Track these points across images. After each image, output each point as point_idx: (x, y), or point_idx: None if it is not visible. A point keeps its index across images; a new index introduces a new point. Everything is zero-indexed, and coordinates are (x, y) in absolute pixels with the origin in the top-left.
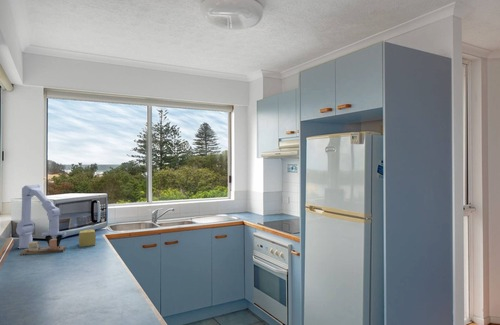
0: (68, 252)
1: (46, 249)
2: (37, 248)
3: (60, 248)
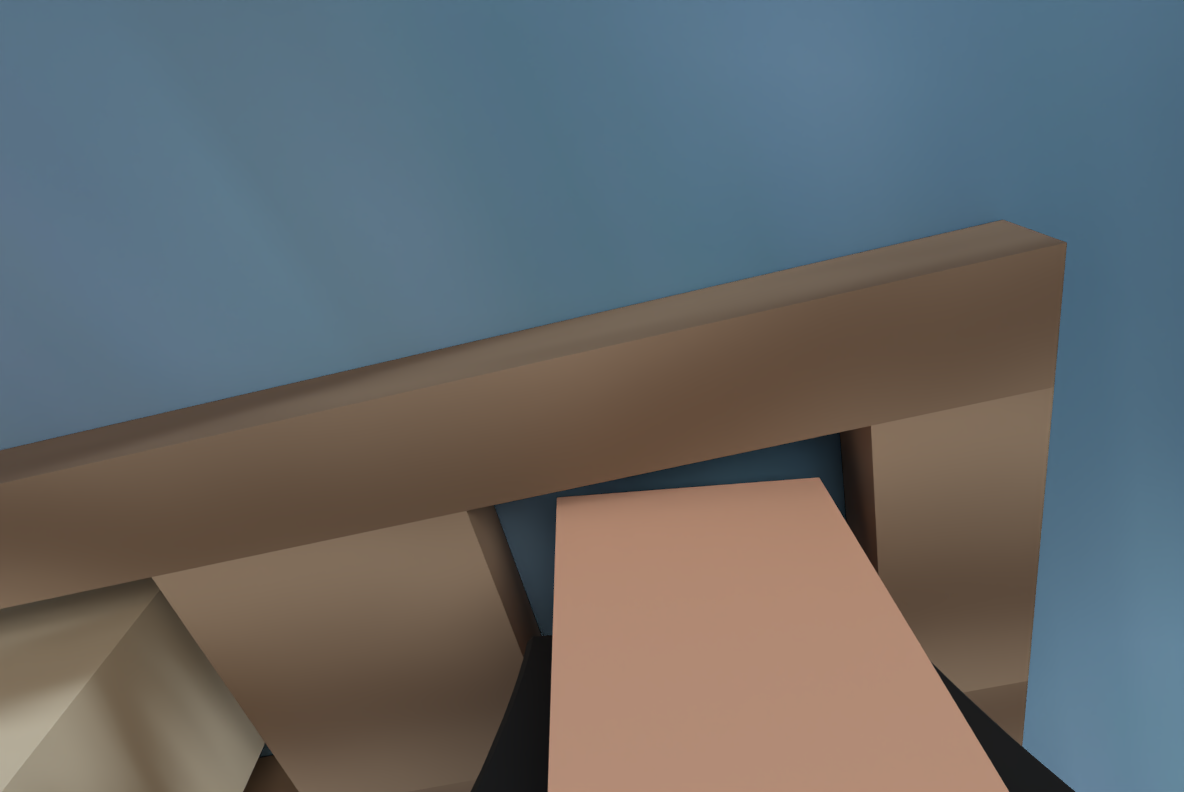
0: (1139, 740)
1: (499, 723)
2: (172, 752)
3: (927, 650)
